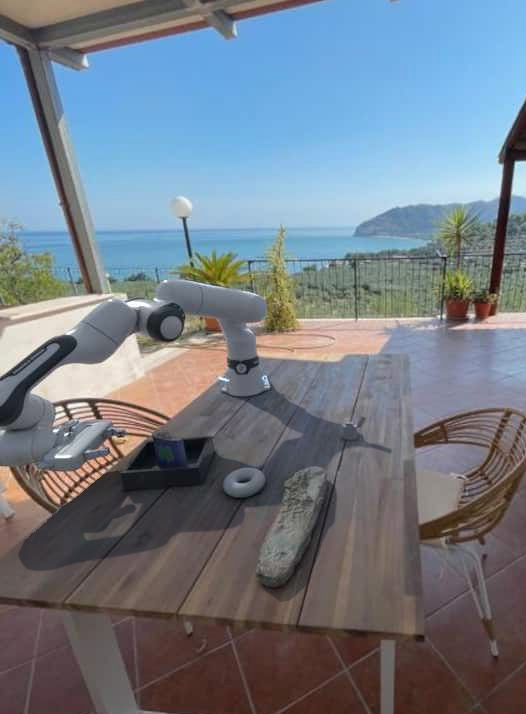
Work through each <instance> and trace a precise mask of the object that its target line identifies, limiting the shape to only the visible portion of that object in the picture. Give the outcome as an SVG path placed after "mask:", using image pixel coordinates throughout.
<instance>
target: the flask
mask: <svg viewBox="0 0 526 714" xmlns="http://www.w3.org/2000/svg"><path fill="white" fill-rule="evenodd" d="M151 438H152V440H153V442H154V447H155V453H156V458H157V463H158V466H160V467H163V468H169V467H183V466H188V463H187V459H186V454H185V449H184V443H183V438H184V437H183V436H180V435H172V434H170V429H169V428H168V429H166V430H161V431H157V432H154V433H152V435H151Z"/></svg>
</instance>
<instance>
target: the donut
mask: <svg viewBox="0 0 526 714" xmlns="http://www.w3.org/2000/svg"><path fill="white" fill-rule="evenodd" d="M222 484H223V485H222V488H223V490H224V492H225V494H227V495H228V496H230V497H232V498H236V499H244V498H248V497H252V496H254V495H255V494H258V493H259V492H260V491H261V490H262V489H263V488H264V486H265V484H266V476H265V474H264V473H263V472H262V471H261V470H259V469H258V468H254V467H241V468H238V469H235V470H233V471H232V472H230V473H229V474H228V475H226V477H225V478H224V480H223V483H222Z"/></svg>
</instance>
